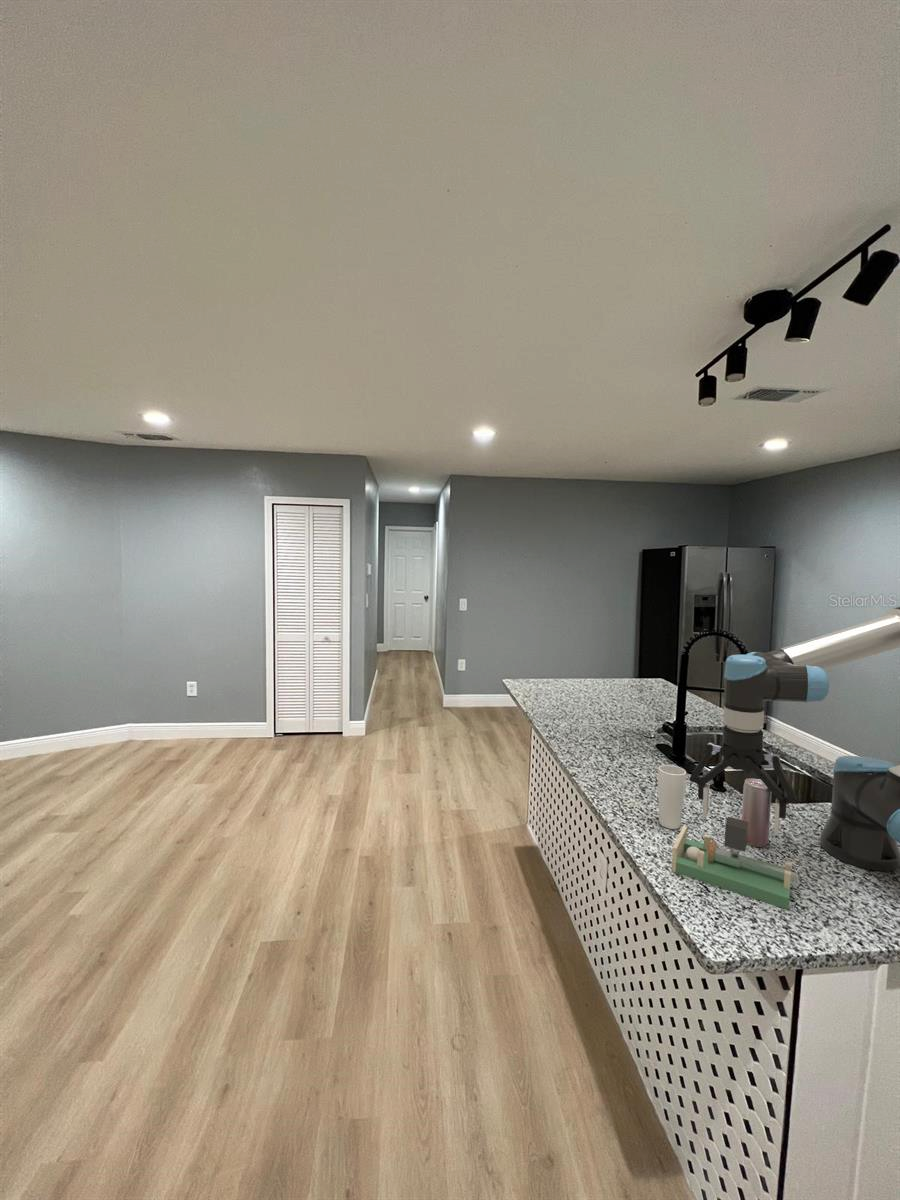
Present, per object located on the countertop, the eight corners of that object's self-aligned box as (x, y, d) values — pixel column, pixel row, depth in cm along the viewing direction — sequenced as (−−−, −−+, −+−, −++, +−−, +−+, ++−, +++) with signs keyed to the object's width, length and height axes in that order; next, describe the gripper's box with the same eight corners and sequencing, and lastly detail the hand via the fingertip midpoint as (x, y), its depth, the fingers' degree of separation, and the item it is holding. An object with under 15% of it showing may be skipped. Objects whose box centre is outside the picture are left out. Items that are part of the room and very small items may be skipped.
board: (790, 880, 114) (792, 855, 113) (788, 909, 104) (790, 883, 104) (682, 847, 126) (683, 825, 126) (671, 871, 116) (672, 847, 116)
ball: (684, 850, 122) (697, 862, 121) (681, 857, 119) (694, 869, 118) (693, 840, 121) (707, 852, 119) (690, 847, 118) (704, 859, 116)
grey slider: (797, 877, 110) (800, 835, 109) (797, 888, 106) (800, 844, 105) (711, 851, 119) (713, 812, 118) (708, 860, 116) (710, 820, 115)
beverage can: (743, 832, 134) (746, 775, 132) (769, 840, 130) (773, 782, 129) (738, 842, 129) (741, 783, 128) (765, 850, 125) (769, 790, 124)
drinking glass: (667, 833, 133) (669, 776, 132) (650, 820, 139) (652, 765, 138) (689, 829, 135) (692, 773, 133) (671, 817, 141) (674, 763, 140)
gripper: (813, 732, 108) (809, 831, 110) (684, 713, 122) (682, 801, 124) (813, 743, 102) (809, 847, 104) (677, 722, 116) (675, 813, 118)
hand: (739, 822), depth 114 cm, fingers open, 13 cm apart
